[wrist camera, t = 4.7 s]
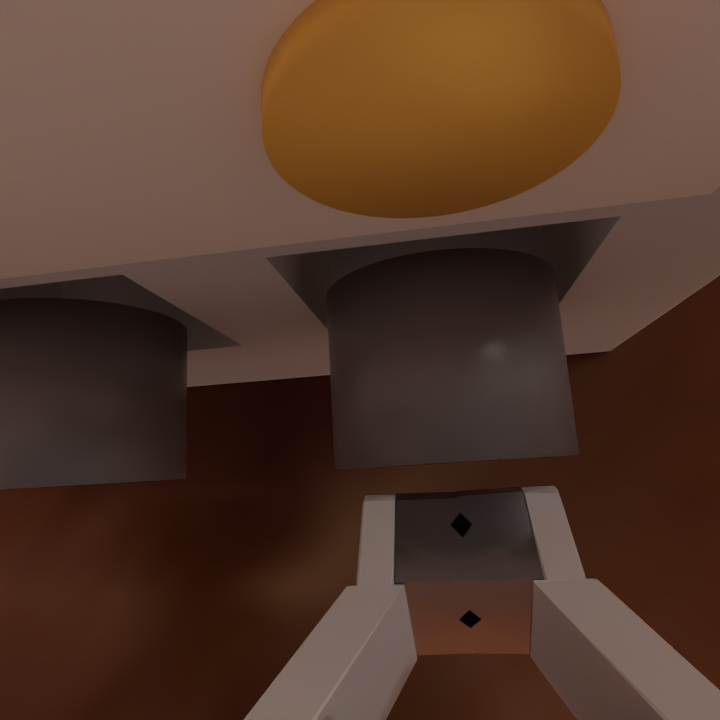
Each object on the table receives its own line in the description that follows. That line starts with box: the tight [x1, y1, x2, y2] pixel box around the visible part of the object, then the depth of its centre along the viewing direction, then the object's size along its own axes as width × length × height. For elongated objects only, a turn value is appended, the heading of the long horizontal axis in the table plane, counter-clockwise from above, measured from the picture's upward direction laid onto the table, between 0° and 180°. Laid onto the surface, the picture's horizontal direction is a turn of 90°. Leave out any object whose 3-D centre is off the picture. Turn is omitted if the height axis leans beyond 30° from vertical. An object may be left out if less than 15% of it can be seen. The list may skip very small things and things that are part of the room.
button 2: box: [0, 298, 187, 490], centre depth 10 cm, size 3×4×4 cm
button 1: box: [326, 248, 580, 469], centre depth 9 cm, size 3×4×4 cm
